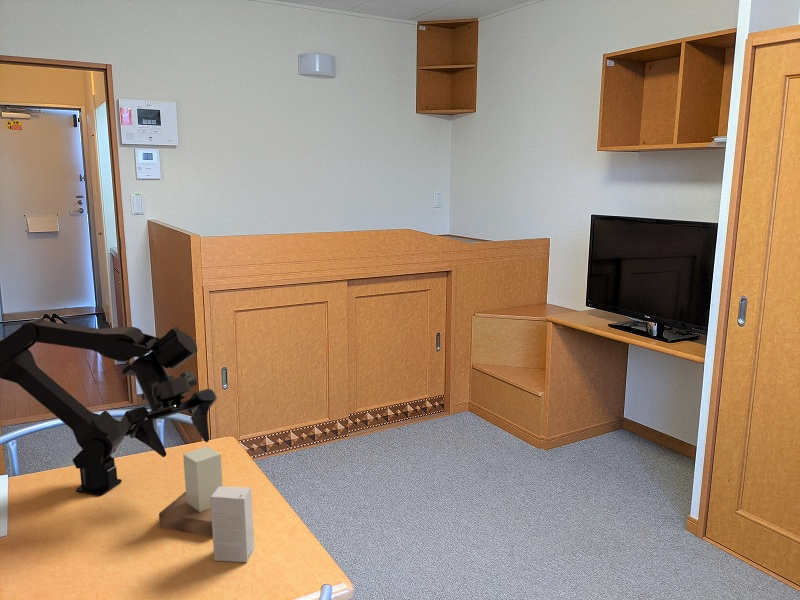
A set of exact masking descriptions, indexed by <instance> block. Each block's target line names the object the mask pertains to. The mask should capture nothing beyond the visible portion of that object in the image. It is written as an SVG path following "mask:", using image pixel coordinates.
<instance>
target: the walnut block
mask: <svg viewBox="0 0 800 600" xmlns="http://www.w3.org/2000/svg"><path fill="white" fill-rule="evenodd" d="M158 519H159V529H163V530H169V531H176V532H180V533H181V532H183V533H188V534H194V535H199V536H206V537H211V538H213V532H212V517H211V508H208V509H206V510H203V511H201V512H199V511H198V510H196V509H195V508H193V507H192V506H191V505H189V504H188V503H187V502H186V491H185V492H183V493H182V494H181V495H180V496H178V497H177V498H176V499H175V500H173V501H172V502H171V503H169V505H168V506H166V507H165V508H164V509H162V510H161V511H160V512H159V513H158Z"/></svg>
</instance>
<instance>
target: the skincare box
mask: <svg viewBox="0 0 800 600" xmlns="http://www.w3.org/2000/svg"><path fill="white" fill-rule="evenodd" d="M252 496H253V495H252V487H250V486H249V487H248V486H246V487H244V486H223V485H222V486H219V487H218V488H217V489H216V491H215V492H214V493H213V494H212V496H211V497H210V503H211V517H212V532H213V537H212V545H213V558H214V561H215V562H218V561H219V562H233V563H234V562H236V563H248V561H249V560H250V558H251V556H252V554H253V553H254V551H255V533H254V532H255V531H254V515H253V499H252V498H253V497H252Z"/></svg>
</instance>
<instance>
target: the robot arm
mask: <svg viewBox="0 0 800 600" xmlns="http://www.w3.org/2000/svg"><path fill="white" fill-rule="evenodd" d="M37 343H42V344H46V345H47V344H48V345H54V346H60V347H61V346H62V347H69V348H75V349H82V350H90V351H92V352H93V351H94V352H96V353H97V354H99V355H101V356H102V357H105V358H106V359H110V360H114V361H117V362H121V363H122V362H125V366H124V367H123V369H122V372H121V374H122V375H124V376H125V375H126V376H132V377H135V379H136V381H137V383H138V386H139V388H140V389H141V392H142V394H141V396H140V397H141V399H142V401H145V400H146V402H147V405H148V407H149V408H150V410H149V411H148V409H147V408H146V407H144V406H140V407H137V408H133V409H130V410H126V411H125V412H124V415H123V416H122V418H121V420H117V419H116V418H114V417H113V416H112V414H110V413H109V411H107V410H103V412H101V413H100V414H99V413H95V412H92V411H90V410H89V409H88V408H87V407H85V406H84V405H83V404H82V403H81V402H79V400H77V399H76V398H75V397H74V396H73V395H72V394H70V392H68V391H66V389H65V388H63V387H62V386H61V385H59V384H58V383H57V381H55V380H54V379H52V378H51V377H50V376H49V375H48V374H47V373H45V371H44V370H42V369H41V368H40V367H38V366H37V365H38V364H36V360H35V358H34V356H33V353H32V351H31V350H30V349H31V348H32V347H33V346H34V345H36V344H37ZM197 353H198V346H197V344H196V341H195V340H194V339H193V337H192V336H191V335H188V334H187V332H185V331H183V330H180V329H179V328H178V326H174V327H173V328H171V329H170V330H169V331H167V333H166V334H165V335H163V336H162V337H158V336H153V335H150V334H148V333H143V332H142V330H141V329H140V328H138V327H135V326H115V327H107V328H98V327H97V328H96V327H90V326H89V327H88V326H83V325H76V324H75V325H74V324H71V323H69V324H68V323H64V322H63V323H62V322H56V321H49V320H45V319H42V318H35V319H32V320H30V321H28V322H25V323H23V324H22V325H21V326H20V327H19V328H18V329H16V330H14V331H13V332H12V333H10V334H9V335H7V336H6V337H3V338H1V339H0V380H5V381H9V382H11V383H14V384H17V385H18V386H20V388H22V389H23V390H24V391H25V392H27V393H28V394H29V395H30V396H31V397H32V398H33V399H35V401H37V402H38V403H39V404H41V405H42V406H43V407H44V408H46V409H47V410H48V411H49V412H50V413H52V415H54V416H55V417H57V419H59V420H60V421H61V422H62V423H64V424H65V425H66V426H67V427H68V428H69V429H70V430H71V432H73V435H74V437H75V440H76V443H77V445H78V446H79V447H80V448H81V450H80V451H79V452H78V453H77V454H76V455H75V456H74V457H73V458H72V462H73V464H74V466H75V468H76V469H77V470H78V469H79V473H80V483H81V485H80V486H78V487H76V488H75V491H76V493H84V494H90V495H96V496H103V495H105V494H106V493H107V492H109V491H111V490H112V489H114V488H115V487H116V486H118V485H119V484H121V483H122V481H123V480H122V479H121V478H118V472H117V471H118V470H117V466H116V463H115V458H114V457H112V454H114V453H115V452H116V451H117V449H118V447H119V446H120V445H121V444H122V442H123V440H124V438H125V437H128V436H129V438H130V439H136V440H138V441H140V442H141V443H143V444H144V445H146V446H147V447H149V448H150V449H152V450H153V451H154V452H155V453H157V454H158V455H160V457H163V458H165V457H166V456H167V451H166V449H165V446H164V445H163V442H162V441H161V439H160V437H159V434H158V433H157V431H156V429H155V424H154V421H157V420H159V419H160V420H161V419H162V418H167V417H169V416H170V417H171V416H173V415H177V414H180V413H184V412H187V411H188V414H189V415H192V416H191V417H190V420H191V422H192V423H193V425H194V426H195V428H196V430H197V432H198V434H199V435H200V437H201V439H202V440H203V441H204V442H205V443H209V442H210V431H209V423H208V421H209V420H208V418H209V416H208V413H209V410H210V409H211V407H212V406H213V405H214V403H215V402H216V401H217V399H218V397H217V394H215V391H214V390H213V389H210V388H206V389H201V390H198V391H194V392H193V393H192V395H191V397H189V399H188V400H184V401H182V400H183V399H184V398H185V397H186V394H185V393H191V392H192V389H191V388H194V387H195V386H197V385H198V381H197V376H196V375H195V373H194V372H193V370H191V369H190V370H188V371H184V372H182V373H180V377H176V378H175V377H174V376H173V375H171V376H169V374H168V372H167V370H166V369H177V367H179V366H180V365H182V364H183V363H184V362H186V361H187V360H189V359H190V358H191V357H193V356H195V354H197ZM132 358H135V359H134V360H133V361H130V360H131V359H132Z"/></svg>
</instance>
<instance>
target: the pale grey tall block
mask: <svg viewBox="0 0 800 600" xmlns="http://www.w3.org/2000/svg"><path fill="white" fill-rule="evenodd" d="M182 455H183V456H182V457H183V468H184V482H185V483H184V484H185V485H184V486H185V492H186V502H187V503H188V504H189V505H191V506H192V507H193V508H195V509H196V510H198V511H199V512H201V511H203V510H206V509H208V508H211V503H210V497H211V496H212V494H213V493H214V492H215V491H216V489H217V488H218V487H219V486H223V472H222V471H223V469H222V454H221V453H220V452H219V451H216V450H214V449H213V448H211V447H209V446H204V447H201V448H198V449H195V450H191V451H189V452H186V453H183V454H182Z"/></svg>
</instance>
